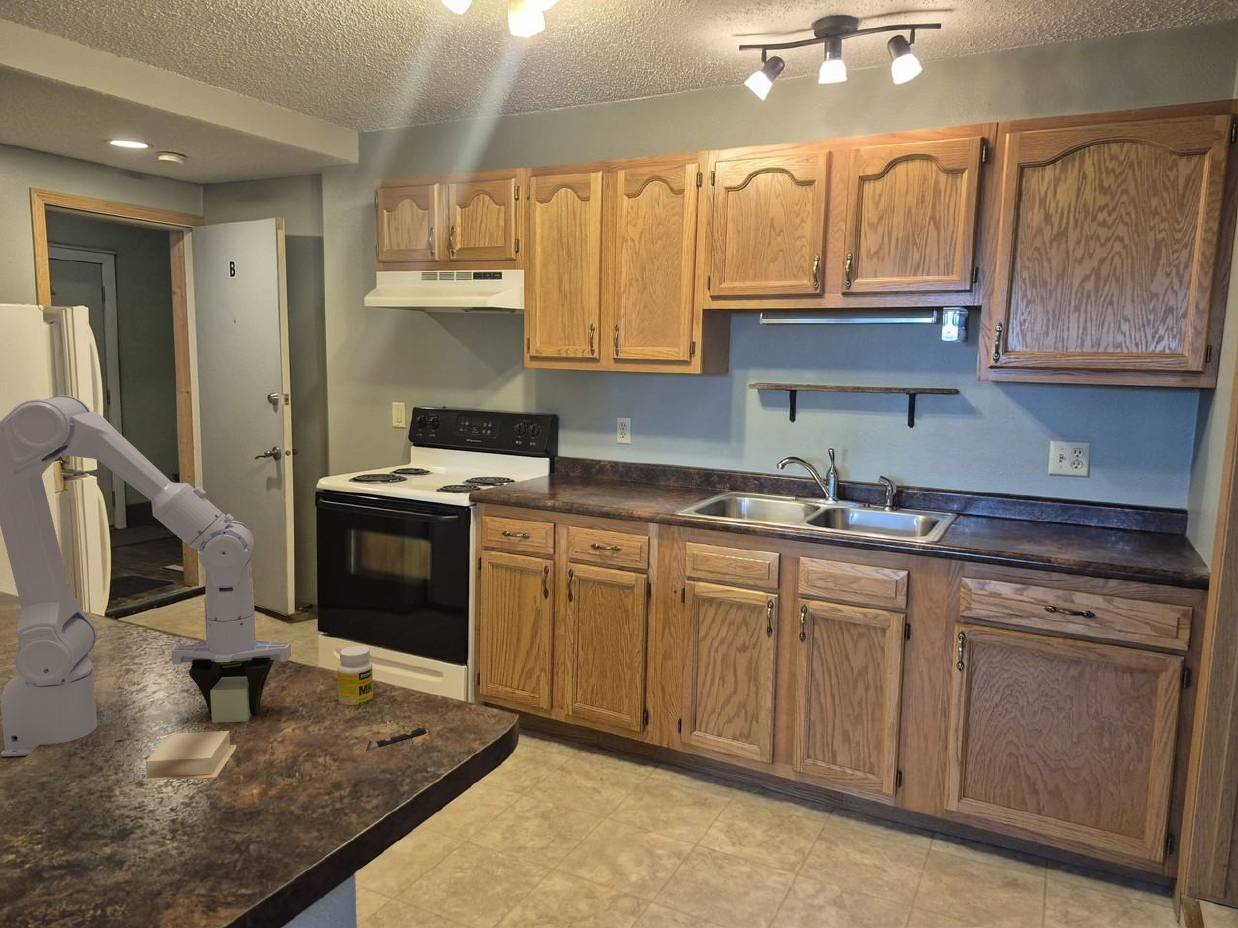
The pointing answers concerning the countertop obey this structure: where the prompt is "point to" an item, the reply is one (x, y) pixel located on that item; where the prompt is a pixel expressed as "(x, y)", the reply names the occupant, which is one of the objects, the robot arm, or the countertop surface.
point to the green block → (230, 700)
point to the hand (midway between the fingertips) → (235, 711)
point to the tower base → (214, 774)
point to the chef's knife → (395, 739)
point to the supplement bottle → (355, 676)
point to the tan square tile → (188, 754)
